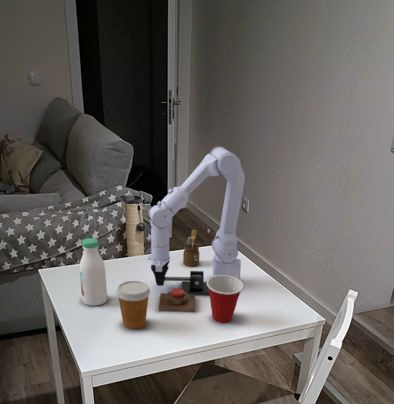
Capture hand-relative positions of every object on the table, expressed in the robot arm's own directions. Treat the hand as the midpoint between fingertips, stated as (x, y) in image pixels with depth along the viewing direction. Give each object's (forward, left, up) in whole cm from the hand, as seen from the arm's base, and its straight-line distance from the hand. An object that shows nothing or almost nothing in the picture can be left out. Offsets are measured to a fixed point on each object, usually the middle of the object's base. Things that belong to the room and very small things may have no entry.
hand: (160, 282), depth 163 cm
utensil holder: (-10, -22, -2) cm, 24 cm away
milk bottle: (+20, +10, -2) cm, 22 cm away
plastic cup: (-20, +19, -2) cm, 28 cm away
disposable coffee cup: (+6, +24, -2) cm, 25 cm away
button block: (-6, +11, -2) cm, 13 cm away
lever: (-6, 0, 0) cm, 6 cm away
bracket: (-12, 0, -2) cm, 12 cm away
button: (-6, +11, +1) cm, 13 cm away
